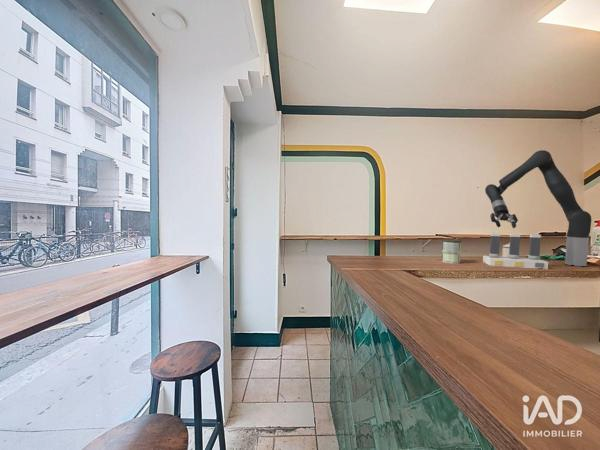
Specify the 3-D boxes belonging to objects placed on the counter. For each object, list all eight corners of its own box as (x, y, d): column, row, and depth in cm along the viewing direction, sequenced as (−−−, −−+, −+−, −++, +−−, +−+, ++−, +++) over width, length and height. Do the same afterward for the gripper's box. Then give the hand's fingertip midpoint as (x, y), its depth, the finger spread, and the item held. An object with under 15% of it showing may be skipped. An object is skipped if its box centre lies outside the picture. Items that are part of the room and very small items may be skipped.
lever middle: (517, 258, 162) (519, 233, 161) (519, 258, 159) (520, 234, 158) (508, 257, 163) (509, 233, 162) (509, 258, 161) (511, 234, 160)
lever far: (498, 257, 164) (499, 233, 164) (499, 257, 162) (501, 233, 161) (488, 256, 166) (490, 233, 165) (490, 257, 164) (491, 233, 163)
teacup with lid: (518, 261, 173) (519, 243, 173) (501, 259, 179) (502, 242, 178) (518, 258, 183) (519, 241, 182) (502, 257, 188) (503, 240, 188)
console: (536, 264, 163) (536, 258, 163) (548, 269, 151) (548, 262, 151) (482, 261, 171) (483, 255, 171) (490, 265, 159) (490, 259, 159)
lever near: (537, 259, 159) (539, 234, 158) (540, 260, 156) (541, 234, 155) (528, 258, 160) (529, 234, 159) (530, 259, 158) (531, 234, 157)
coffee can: (438, 260, 176) (439, 238, 175) (455, 260, 175) (456, 239, 174) (445, 263, 165) (446, 240, 164) (463, 263, 164) (464, 241, 163)
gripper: (490, 203, 179) (497, 222, 169) (514, 204, 176) (522, 224, 166) (485, 211, 185) (491, 229, 175) (508, 212, 182) (516, 231, 172)
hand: (506, 227), depth 171 cm, fingers open, 8 cm apart
